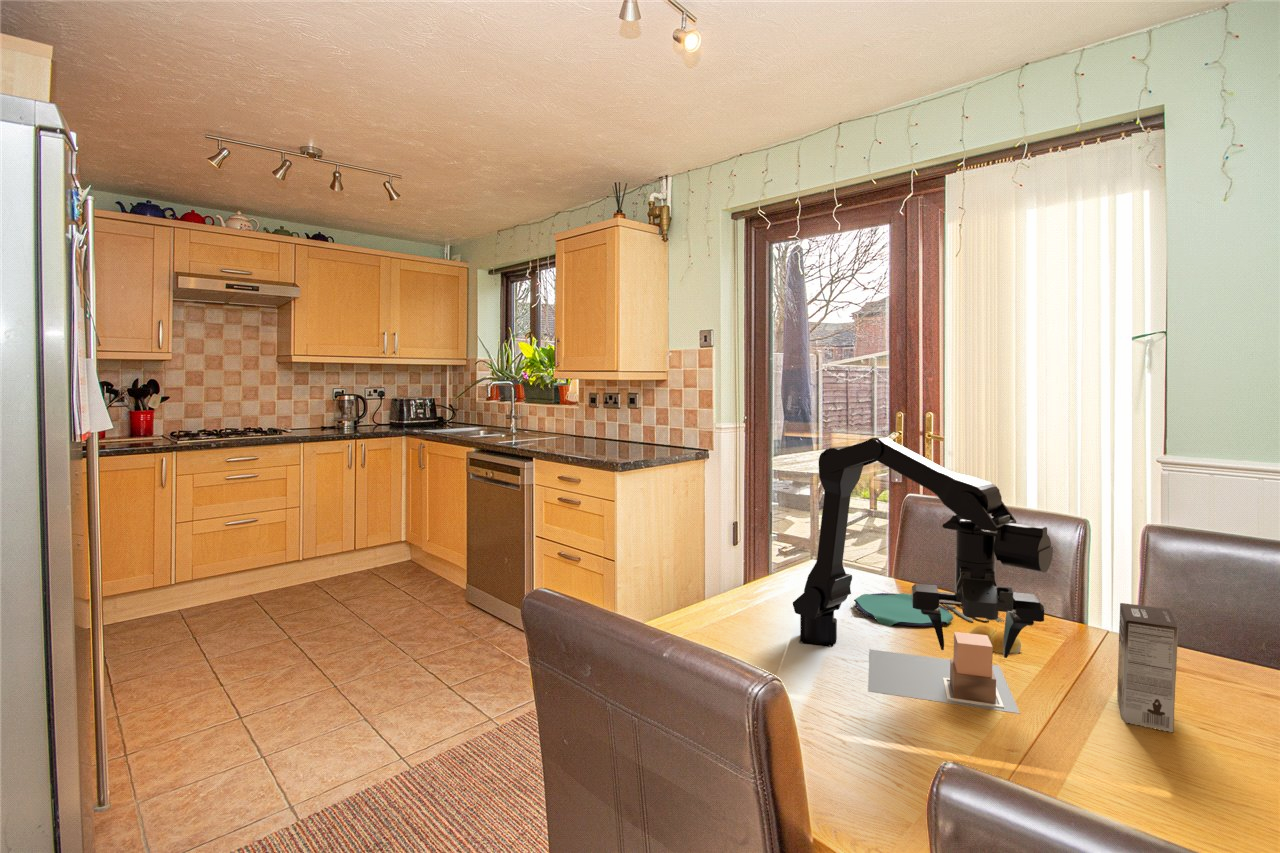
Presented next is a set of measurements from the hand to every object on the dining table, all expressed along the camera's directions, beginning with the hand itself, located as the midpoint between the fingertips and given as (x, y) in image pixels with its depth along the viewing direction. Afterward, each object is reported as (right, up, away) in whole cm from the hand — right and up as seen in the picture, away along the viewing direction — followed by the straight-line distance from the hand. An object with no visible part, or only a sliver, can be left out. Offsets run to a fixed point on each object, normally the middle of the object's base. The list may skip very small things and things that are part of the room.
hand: (973, 653), depth 105 cm
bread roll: (+15, -6, +20) cm, 26 cm away
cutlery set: (+9, -6, +39) cm, 41 cm away
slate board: (-3, -7, +6) cm, 10 cm away
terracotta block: (0, -3, 0) cm, 3 cm away
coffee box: (+23, -8, -6) cm, 25 cm away
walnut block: (0, -7, 0) cm, 7 cm away
